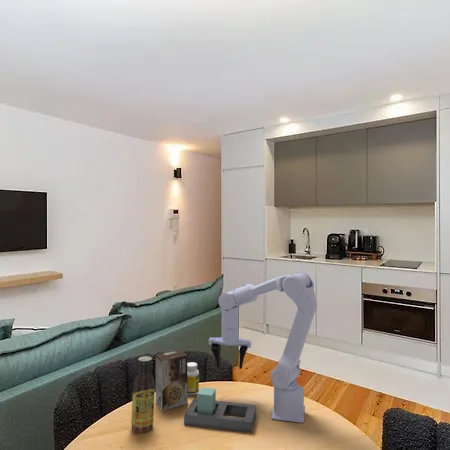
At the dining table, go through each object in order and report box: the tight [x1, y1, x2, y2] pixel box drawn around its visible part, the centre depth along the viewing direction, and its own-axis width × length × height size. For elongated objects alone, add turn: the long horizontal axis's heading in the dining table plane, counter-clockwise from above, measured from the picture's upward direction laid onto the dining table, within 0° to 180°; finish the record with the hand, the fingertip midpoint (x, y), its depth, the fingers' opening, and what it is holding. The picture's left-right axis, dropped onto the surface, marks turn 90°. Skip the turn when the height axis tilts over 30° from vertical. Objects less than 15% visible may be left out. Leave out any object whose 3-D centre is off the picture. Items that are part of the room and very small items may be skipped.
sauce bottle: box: [130, 355, 156, 434], centre depth 100 cm, size 6×6×20 cm
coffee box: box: [155, 349, 189, 412], centre depth 114 cm, size 9×6×16 cm
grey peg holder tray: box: [183, 397, 257, 434], centre depth 104 cm, size 20×10×3 cm, turn 78°
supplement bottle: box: [187, 361, 200, 396], centre depth 122 cm, size 5×5×10 cm
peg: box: [196, 386, 217, 415], centre depth 105 cm, size 4×4×8 cm
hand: (229, 366), depth 118 cm, fingers open, 7 cm apart
